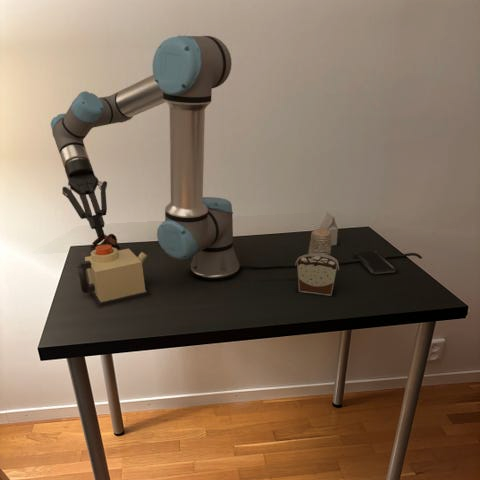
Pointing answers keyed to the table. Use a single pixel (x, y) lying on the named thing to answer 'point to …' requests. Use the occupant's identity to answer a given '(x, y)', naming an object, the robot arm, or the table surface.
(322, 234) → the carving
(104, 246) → the button
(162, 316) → the table surface
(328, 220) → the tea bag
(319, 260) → the food container
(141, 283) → the kettle
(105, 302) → the kettle handle and spout
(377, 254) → the phone
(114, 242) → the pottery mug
